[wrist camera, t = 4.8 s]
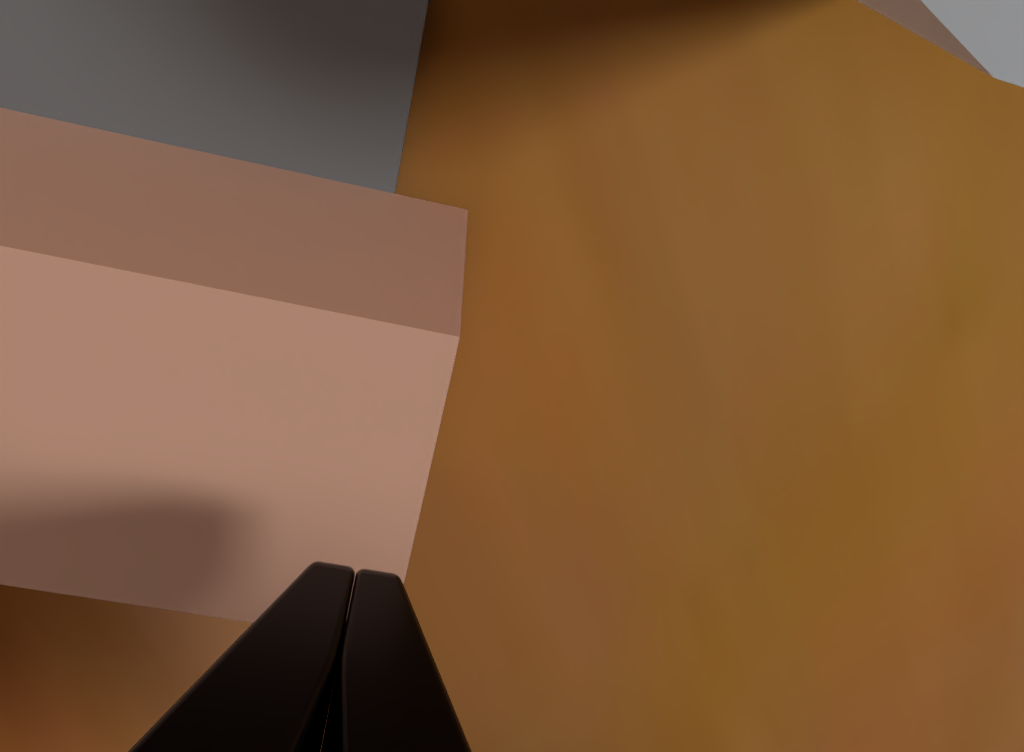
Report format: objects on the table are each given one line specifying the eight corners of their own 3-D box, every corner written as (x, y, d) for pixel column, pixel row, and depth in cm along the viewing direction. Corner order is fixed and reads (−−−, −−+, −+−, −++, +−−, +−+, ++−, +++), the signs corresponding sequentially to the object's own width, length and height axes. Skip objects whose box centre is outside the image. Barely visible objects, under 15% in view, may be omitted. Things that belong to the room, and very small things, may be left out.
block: (390, 643, 11) (-396, 523, 10) (415, 453, 15) (-148, 352, 14) (460, 337, 9) (-513, 143, 8) (468, 209, 13) (-184, 67, 12)
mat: (331, 553, 16) (328, 567, 16) (-123, 478, 15) (-137, 492, 15) (431, -13, 12) (429, -11, 12) (-202, -173, 11) (-225, -175, 11)
